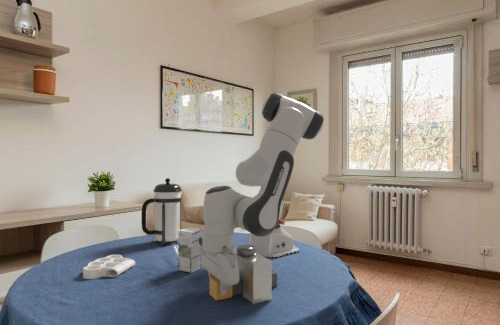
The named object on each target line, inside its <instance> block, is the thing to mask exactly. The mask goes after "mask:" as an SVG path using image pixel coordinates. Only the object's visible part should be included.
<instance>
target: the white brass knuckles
mask: <svg viewBox="0 0 500 325" xmlns="http://www.w3.org/2000/svg"><path fill="white" fill-rule="evenodd" d="M134 266H136V260H134V259H132V258H129V257H123V256H122V255H121V254H110V255H107V256H105V257H100V258H97V259H95V260H94V261H90V262H89V263H87V265H86V266H84V267H83V268H82V278H83V279H85V280H86V279H87V280H94V279H95V280H96V279H99V278H102V277H103V278H104V277H107V278H108V277H109V278H116V277H118V276H119V275H121V274H122V273H124V272H126V271H128V270H129V269H131V268H132V267H134Z"/></svg>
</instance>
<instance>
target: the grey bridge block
mask: <svg viewBox="0 0 500 325" xmlns="http://www.w3.org/2000/svg"><path fill="white" fill-rule="evenodd" d="M233 253H234V255H236V257H237V259H238V265H239V276H243V293H242V297H243V298H245V299H246V300H247V301H249V302H250V303H251V304H252V305H254V304H258V303H264V302H267V301H272V298H273V291H272V290H273V287H272V271H273V260H271V259H268V257H263V256H261V255H259V254H257V247H256V246H253V245H248V244H239V245H236V246H234V249H233Z"/></svg>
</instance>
